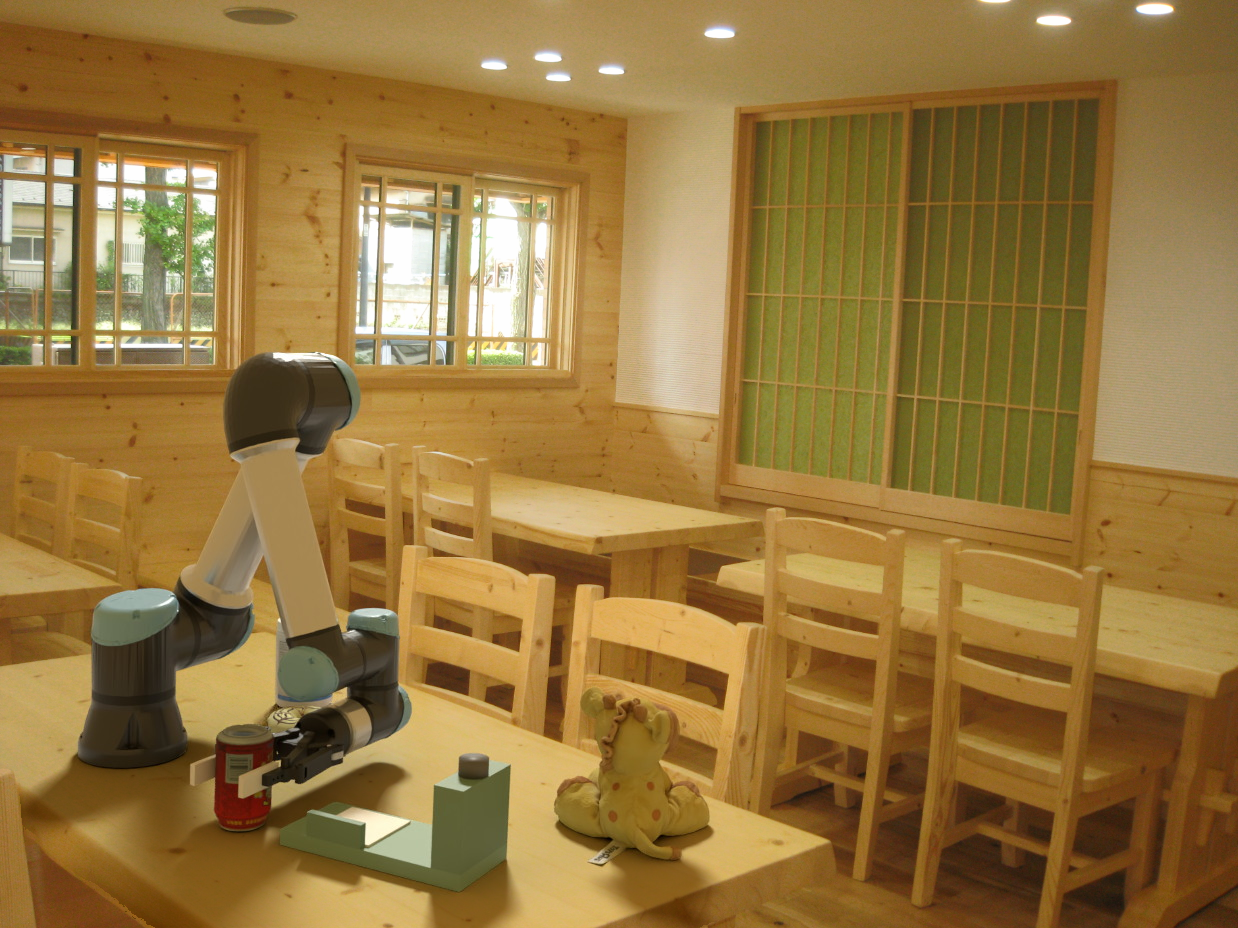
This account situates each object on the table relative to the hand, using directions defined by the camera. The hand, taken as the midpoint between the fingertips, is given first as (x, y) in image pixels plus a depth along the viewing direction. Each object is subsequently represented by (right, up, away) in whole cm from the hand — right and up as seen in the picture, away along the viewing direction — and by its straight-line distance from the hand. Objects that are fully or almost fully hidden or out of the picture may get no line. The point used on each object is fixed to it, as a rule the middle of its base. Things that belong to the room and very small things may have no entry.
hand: (216, 780), depth 156 cm
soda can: (+2, -7, +5) cm, 9 cm away
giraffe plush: (+51, -9, +11) cm, 53 cm away
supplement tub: (-4, -2, +58) cm, 58 cm away
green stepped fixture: (+22, -9, -1) cm, 24 cm away
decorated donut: (0, -4, +42) cm, 42 cm away
